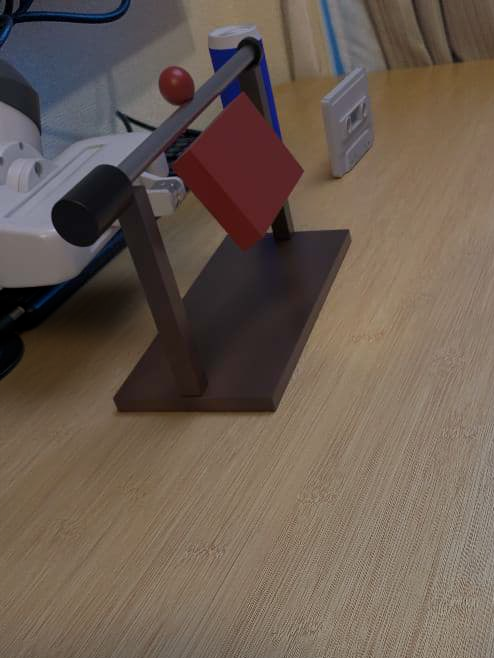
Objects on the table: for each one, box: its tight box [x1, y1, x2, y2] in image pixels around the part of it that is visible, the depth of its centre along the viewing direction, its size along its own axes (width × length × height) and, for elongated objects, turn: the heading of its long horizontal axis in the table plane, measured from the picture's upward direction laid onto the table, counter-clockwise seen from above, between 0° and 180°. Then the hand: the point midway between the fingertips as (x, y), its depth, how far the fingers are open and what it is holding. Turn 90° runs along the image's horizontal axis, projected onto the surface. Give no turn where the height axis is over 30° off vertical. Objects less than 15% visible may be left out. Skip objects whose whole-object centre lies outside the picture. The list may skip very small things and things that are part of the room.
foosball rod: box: [51, 36, 305, 252], centre depth 57 cm, size 3×33×11 cm, turn 171°
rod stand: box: [112, 64, 352, 413], centre depth 63 cm, size 12×27×15 cm, turn 170°
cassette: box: [320, 66, 375, 178], centre depth 89 cm, size 12×2×8 cm, turn 162°
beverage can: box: [207, 23, 284, 143], centre depth 83 cm, size 5×5×15 cm
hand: (178, 195), depth 62 cm, fingers closed
